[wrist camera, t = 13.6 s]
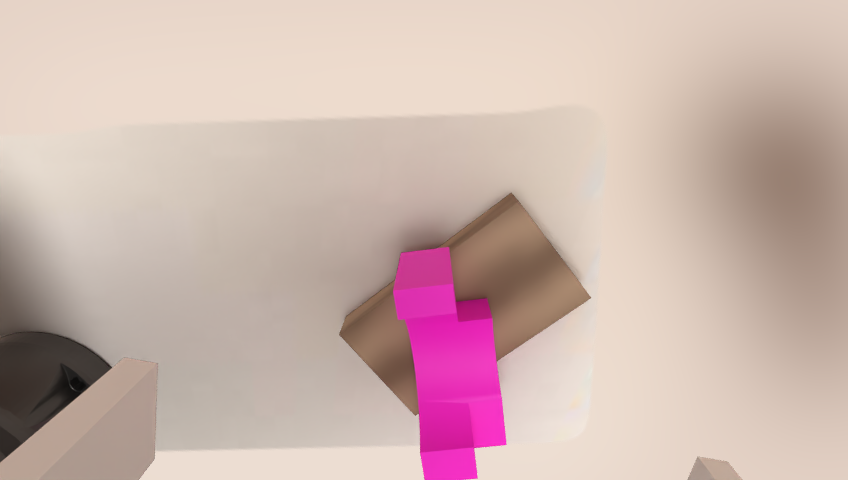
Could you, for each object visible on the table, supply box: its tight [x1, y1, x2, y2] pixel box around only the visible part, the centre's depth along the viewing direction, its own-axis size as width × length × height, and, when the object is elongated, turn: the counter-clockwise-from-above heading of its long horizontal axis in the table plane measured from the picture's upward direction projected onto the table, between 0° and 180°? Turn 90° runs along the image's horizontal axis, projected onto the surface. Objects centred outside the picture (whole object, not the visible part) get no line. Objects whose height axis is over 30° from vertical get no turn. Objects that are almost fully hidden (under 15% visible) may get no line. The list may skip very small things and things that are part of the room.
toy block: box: [393, 247, 506, 480], centre depth 35 cm, size 15×6×8 cm, turn 8°
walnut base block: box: [339, 193, 591, 416], centre depth 40 cm, size 10×18×4 cm, turn 128°
